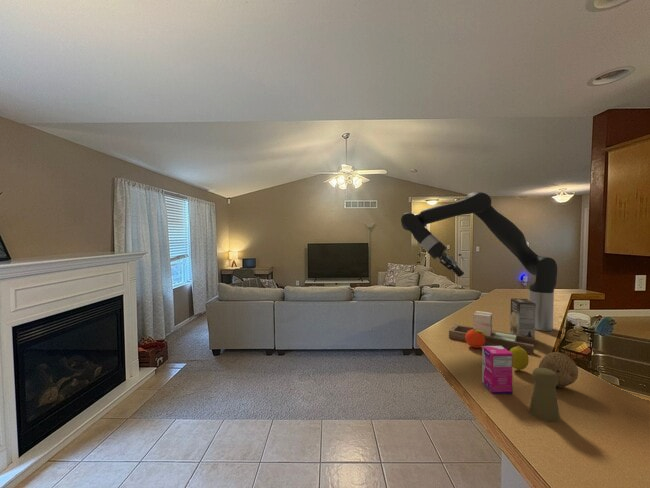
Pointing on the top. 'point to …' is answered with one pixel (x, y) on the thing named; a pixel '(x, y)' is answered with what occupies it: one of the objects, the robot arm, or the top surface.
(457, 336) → the walnut lane
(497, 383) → the supplement box
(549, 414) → the olive tapered cylinder
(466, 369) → the top surface
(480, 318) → the cream block
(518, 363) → the lemon
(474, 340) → the clementine
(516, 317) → the coffee box
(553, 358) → the natural sponge
